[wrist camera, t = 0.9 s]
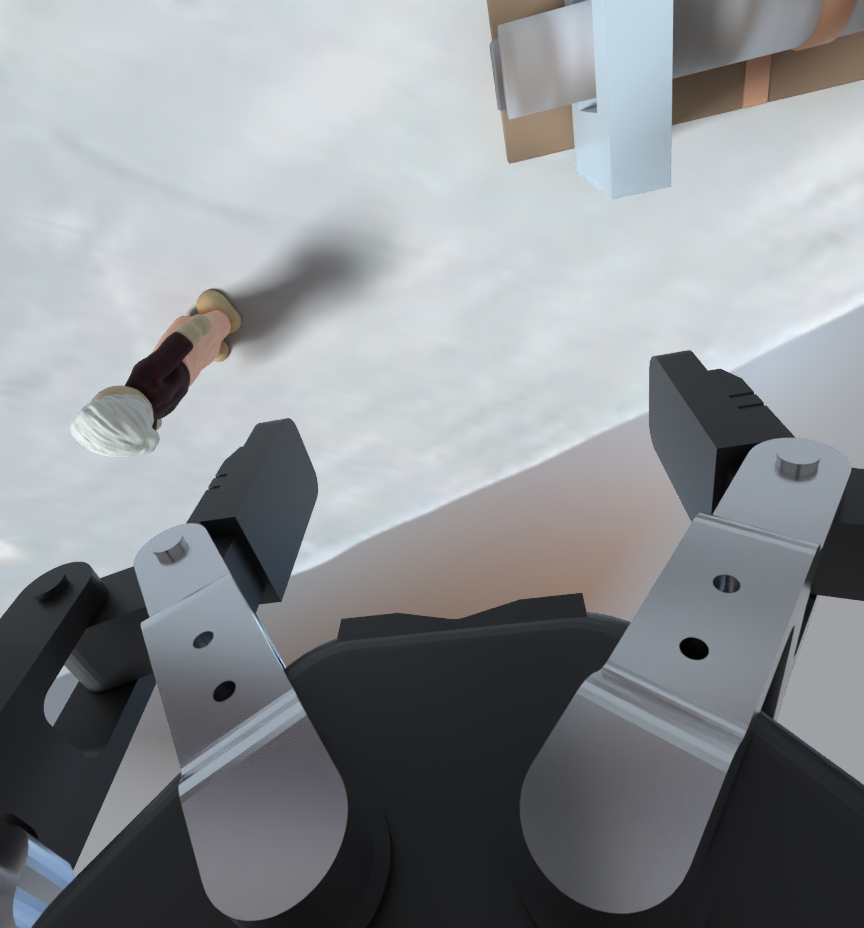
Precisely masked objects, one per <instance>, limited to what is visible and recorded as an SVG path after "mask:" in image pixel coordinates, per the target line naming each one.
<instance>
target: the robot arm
mask: <svg viewBox="0 0 864 928" xmlns="http://www.w3.org/2000/svg"><path fill="white" fill-rule="evenodd" d="M649 427H650V434H651V439H652V443H653V446H654V449H655V451H656V452H657V454H658V457H659V459H660V460H661V463H662V465H663V466H664V468H665V470H666V472H667V474H668V476H669V478H670V480H671V482H672V484H673V486H674V488H675V490H676V492H677V494H678V496H679V498H680V500H681V502H682V504H683V506H684V508H685V510H686V512H687V514H688V516H689V518H690V520H691V522H692V523H691V525H690V526H689V528H688V529H687V531H686V533H685V535H684V536H683V538H682V539H681V541H680V543H679V544H678V546H677V548H676V549H675V551H674V552H673V554H672V556H671V557H670V559H669V561H668V562H667V564H666V566H665V567H664V569H663V571H662V572H661V574H660V575H659V577H658V579H657V580H656V582H655V584H654V585H653V587H652V589H651V590H650V592H649V593H648V595H647V597H646V598H645V600H644V602H643V603H642V605H641V607H640V608H639V610H638V612H637V613H636V615H635V616H634V618H633V620H632V621H631V622H629V621H625V620H622V619H619V618H616V617H613V616H608V615H604V614H599V613H591V612H586V608H585V604H584V599H583V595H582V593H576V594H567V595H558V596H549V597H540V598H531V599H521V600H517V601H515V602H511V603H508V604H505V605H502V606H499V607H496V608H492V609H489V610H486V611H483V612H480V613H477V614H474V615H471V616H468V617H465V618H461V619H446V618H437V617H428V616H420V615H411V614H402V613H393V614H384V615H375V616H365V617H357V618H347V619H341V624H340V628H339V633H338V637H337V639H334V640H332V641H329V642H327V643H325V644H322V645H320V646H318V647H316V648H314V649H312V650H311V651H309V652H307V653H305V654H304V655H302V656H301V657H299V658H298V659H297V660H295V661H294V662H293V663H291V664H290V665H289V666H288V667H286V666H285V664H284V663H283V661H282V659H281V657H280V656H279V654H278V652H277V650H276V648H275V647H274V645H273V643H272V641H271V639H270V638H269V636H268V634H267V632H266V631H265V629H264V627H263V625H262V624H261V622H260V620H259V618H258V617H257V615H256V611H257V608H258V606H259V604H266V603H274V602H281V601H282V598H283V595H284V592H285V590H286V587H287V583H288V581H289V578H290V575H291V572H292V569H293V566H294V563H295V560H296V558H297V555H298V552H299V549H300V546H301V543H302V540H303V537H304V534H305V531H306V528H307V525H308V522H309V520H310V517H311V514H312V511H313V508H314V505H315V502H316V499H317V495H318V483H317V477H316V473H315V470H314V468H313V466H312V463H311V461H310V458H309V456H308V453H307V451H306V449H305V446H304V444H303V441H302V439H301V436H300V434H299V432H298V429H297V427H296V425H295V423H294V422H293V421H292V420H291V419H289V418H287V419H281V420H275V421H269V422H263V423H258V424H257V425H256V426H255V428H254V429H253V431H252V433H251V434H250V436H249V438H248V440H247V441H246V443H245V445H244V446H243V447H240V448H239V449H238V450H236V451H235V452H234V453H233V454H232V455H231V456H230V457H228V458H227V459H226V460H225V461H224V462H223V464H222V466H221V467H220V469H219V471H218V472H217V474H216V475H215V476H216V478H214V479H213V480H212V482H211V484H210V485H209V487H208V488H209V490H206V492H205V493H204V495H203V497H202V498H201V500H200V502H199V503H198V505H197V507H196V508H195V510H194V511H193V513H192V515H191V516H190V518H189V520H188V521H187V523H186V524H182V525H178V526H175V527H172V528H170V529H168V530H165V531H163V532H162V533H160V534H158V535H157V536H155V537H154V538H152V539H151V540H150V541H149V542H147V543H146V544H145V545H144V546H143V547H142V548H141V550H140V551H139V552H138V554H137V555H136V558H135V560H134V566H133V567H131V568H128V569H125V570H122V571H119V572H117V573H114V574H111V575H108V576H105V577H103V578H99V577H98V575H97V574H96V573H95V572H94V570H93V569H92V568H91V566H90V565H89V564H87V563H85V562H72V563H68V564H64V565H61V566H59V567H56V568H54V569H52V570H50V571H48V572H46V573H45V574H43V575H41V576H40V577H38V578H37V579H36V580H34V581H33V582H32V583H31V584H29V585H28V586H27V587H26V588H25V589H24V590H23V591H22V592H21V593H20V594H19V596H18V597H17V598H16V599H15V601H14V602H13V603H12V605H11V606H10V607H9V608H8V610H7V611H6V612H5V613H4V615H3V616H2V617H1V619H0V928H864V785H863V784H861V783H860V782H859V781H858V780H856V779H855V778H854V777H852V776H851V775H849V774H848V773H847V772H845V771H844V770H843V769H841V768H840V767H838V766H837V765H836V764H834V763H833V762H831V761H830V760H829V759H827V758H826V757H825V756H823V755H822V754H820V753H819V752H818V751H816V750H815V749H814V748H812V747H811V746H809V745H808V744H807V743H805V742H804V741H802V740H801V739H800V738H798V737H797V736H796V735H794V734H793V733H792V732H790V731H789V730H787V729H786V728H785V727H783V726H782V725H781V724H779V723H778V722H777V718H778V715H779V712H780V709H781V706H782V703H783V699H784V696H785V692H786V688H787V686H788V682H789V679H790V676H791V673H792V670H793V668H794V665H795V662H796V659H797V656H798V654H799V651H800V648H801V645H802V642H803V640H804V637H805V634H806V631H807V628H808V625H809V622H810V620H811V617H812V614H813V612H814V609H815V606H816V603H817V600H818V598H819V595H822V596H830V597H838V598H846V599H853V600H861V601H864V469H857V468H851V464H850V462H849V460H848V458H847V457H846V456H845V455H844V454H843V453H841V452H840V451H838V450H837V449H835V448H834V447H832V446H829V445H827V444H824V443H821V442H818V441H814V440H809V439H803V438H795V437H794V436H793V435H792V433H791V432H790V431H789V430H788V429H787V428H786V427H785V426H784V425H783V424H782V423H781V421H780V420H779V419H778V418H777V417H776V416H775V415H774V414H773V412H772V411H771V410H770V409H769V408H768V407H767V406H764V403H763V401H762V400H761V399H760V398H759V397H758V396H757V395H754V392H753V391H752V390H751V388H750V387H749V386H748V385H747V384H746V383H745V382H744V381H743V379H742V378H740V377H737V376H735V375H733V374H731V373H729V372H726V371H724V370H722V369H716V370H709V371H707V369H706V368H705V367H704V366H703V364H702V363H701V362H700V361H699V360H698V358H697V357H696V356H695V355H694V353H693V352H692V351H690V350H688V351H682V352H676V353H670V354H664V355H659V356H653V357H652V358H651V360H650V367H649ZM64 665H65V666H66V667H67V668H68V670H69V671H70V672H71V673H72V674H73V675H74V676H75V677H76V678H77V679H78V680H79V682H78V684H77V686H76V688H75V689H74V691H73V693H72V694H71V696H70V698H69V700H68V702H67V703H66V705H65V707H64V709H63V710H62V712H61V714H60V715H59V717H58V719H57V721H56V722H55V724H54V726H53V727H52V726H51V725H50V724H49V723H48V722H47V720H46V718H45V715H44V700H45V696H46V694H47V692H48V690H49V688H50V687H51V685H52V683H53V682H54V680H55V679H56V677H57V675H58V674H59V672H60V670H61V669H62V667H63V666H64ZM156 683H157V686H158V690H159V693H160V697H161V700H162V704H163V708H164V711H165V715H166V718H167V722H168V725H169V729H170V733H171V736H172V739H173V743H174V746H175V750H176V754H177V757H178V761H179V764H180V768H181V772H180V773H179V775H177V776H176V777H175V778H174V780H172V781H171V782H170V783H169V784H168V785H167V786H166V787H165V788H164V789H163V790H162V791H161V792H160V793H159V794H158V796H156V797H155V798H154V799H153V800H152V801H151V803H149V804H148V805H147V806H146V807H145V808H144V809H143V810H142V811H141V812H140V814H138V815H137V816H136V817H135V818H134V819H133V820H132V821H131V822H130V823H129V824H128V825H127V826H126V827H125V828H124V829H123V830H122V831H121V833H119V834H118V835H117V836H116V837H115V838H114V840H112V842H110V843H109V844H108V845H107V846H106V847H105V848H104V849H103V850H102V851H101V852H100V853H99V854H98V855H97V856H96V858H94V860H92V861H91V862H90V863H89V864H88V865H87V867H85V868H84V869H83V871H82V872H80V873H79V874H78V875H77V876H76V878H74V875H73V870H74V867H75V865H76V863H77V861H78V858H79V856H80V854H81V852H82V849H83V847H84V845H85V842H86V840H87V838H88V836H89V834H90V831H91V829H92V827H93V824H94V822H95V820H96V818H97V815H98V813H99V811H100V809H101V806H102V804H103V802H104V799H105V797H106V795H107V793H108V791H109V788H110V786H111V784H112V782H113V779H114V777H115V775H116V772H117V770H118V768H119V766H120V763H121V761H122V759H123V757H124V755H125V752H126V750H127V748H128V746H129V743H130V741H131V738H132V736H133V734H134V732H135V730H136V727H137V725H138V723H139V721H140V718H141V716H142V714H143V712H144V709H145V707H146V705H147V702H148V700H149V698H150V696H151V693H152V691H153V689H154V687H155V685H156Z"/></svg>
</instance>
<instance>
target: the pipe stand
mask: <svg viewBox="0 0 864 928" xmlns="http://www.w3.org/2000/svg"><path fill="white" fill-rule="evenodd" d="M487 5H488V13H489V21H490V28H491V36H492V42H491V44H490V52H491V60H492V68H493V75H494V83H495V91H496V98H497V106H498V110H500V111H501V114H502V122H503V130H504V138H505V145H506V153H507V161H508V162H509V164H510V163H514V162H519V161H523V160H527V159H531V158H535V157H540V156H544V155H548V154H552V153H556V152H561V151H565V150H569V149H573V148H575V145H574V130H573V116H572V104H574V103H578V102H582V101H586V100H590V99H594V98H596V79H595V59H594V38H593V18H592V0H587V1H583V2H580V3H576V4H573V5H569V6H565V1H564V0H487ZM860 80H864V0H673V62H672V125H674V124H679V123H683V122H687V121H691V120H695V119H700V118H704V117H708V116H712V115H716V114H721V113H725V112H729V111H733V110H737V109H742V108H747V107H751V106H756V105H760V104H764V103H767V102H771V101H775V100H780V99H784V98H788V97H792V96H796V95H801V94H805V93H809V92H813V91H817V90H822V89H826V88H830V87H834V86H838V85H843V84H847V83H851V82H855V81H860Z"/></svg>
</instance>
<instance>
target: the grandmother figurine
mask: <svg viewBox="0 0 864 928" xmlns="http://www.w3.org/2000/svg"><path fill="white" fill-rule="evenodd" d="M196 306H197V311H198V313H199V314H196V315H193V316H192V317H191V316H181V317H179V318H177V319H176V320H175V321H174V322H173V323H172V325H171V326H170V327H169V328H168V329H167V331H166V332H165V333H164V334H163V335H162V337H161V339H160V340H159V342H158V343H157V345H156V347H155V348H154V350H153V352H152V353H151V354H150V355H149V356H148V357H147V358H145V359H143V360H141V361H139V362H138V363H137V364H136V365H135V366H134V368H133V370H132V373H131V375H130V377H129V379H128V381H127V382H126V384H125V386H113V387H109V388H106V389H104V390H102V391H101V392H99V393H98V394H97V395H96V396H95V397H94V398H93V400H92V401H91V402H90V403H88V404H87V405H86V406H85V407H83V408H82V409H81V411H80V412H79V413H78V414H77V416H76V417H75V418H74V420H73V421H72V423H71V424H70V430H71V432H72V435H73V436H74V438H75V439H76V440H77V441H78V442H79V443H80V444H82V445H83V446H85V447H86V448H87V449H89V450H90V451H93V452H95V453H97V454H100V455H104V456H111V457H130V456H134V455H136V454H147V453H150V452H152V451H154V450H155V448H156V446H157V444H158V443H159V440H160V438H159V434H158V432H157V431H156V430H158V429H159V428H160V427H161V424H162V420H161V418H163V417H165V416H167V415H168V414H170V413H171V412H172V411H173V410H174V409H175V408H176V406H177V405H178V404H179V402H180V401H181V399H182V398H183V397H184V396H185V395H186V393H187V392H188V388H189V387H190V385H191V384H192V383H193V382H194V381H195V379H196V378H197V377H198V375H199V373H200V371H201V370H202V369H203V368H205V367H206V366H207V365H209V364H210V363H211V362H212V361H216V362H221V361H224V360H225V359H226V358H227V356H228V352H229V347H228V345H227V343H226V342H225V341H224V340H223V339H224V338H225V337H226V336H227V335H228V334H229V333H234V332H236V331H237V330H238V329H239V328H240V326H241V324H242V320H241V317H240V315H239V314H238V312H237V311H236V310H235V309H234V307H233V306H232V305H231V304H230V303H229V301H228V300H227V299H226V298H225V297H224V296H223V295H222V294H221V293H219V292H217V291H215V290H207V291H205V292H203V293H202V294H201V295H200V296H199V298H198V300H197V305H196Z"/></svg>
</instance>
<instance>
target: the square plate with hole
mask: <svg viewBox="0 0 864 928" xmlns="http://www.w3.org/2000/svg"><path fill="white" fill-rule="evenodd" d="M564 1H565V6H569V5H573V4H576V3H580V2H583V1H587V0H564ZM592 18H593V38H594V59H595V79H596V98H594V99H590V100H586V101H582V102H578V103H574V104H572V116H573V130H574V145H575V159H576V173H577V174H578V175H579V176H581V177H582V178H583V179H585V180H586V181H588V182H589V183H590V184H592V185H593V186H594V187H596V188H597V189H598V190H600V191H601V192H603V193H604V194H605V195H607V196H608V197H609V198H611V199H612V200H613V199H617V198H622V197H626V196H631V195H635V194H640V193H644V192H649V191H653V190H658V189H662V188H667V187H671V143H672V62H673V0H592Z"/></svg>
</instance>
